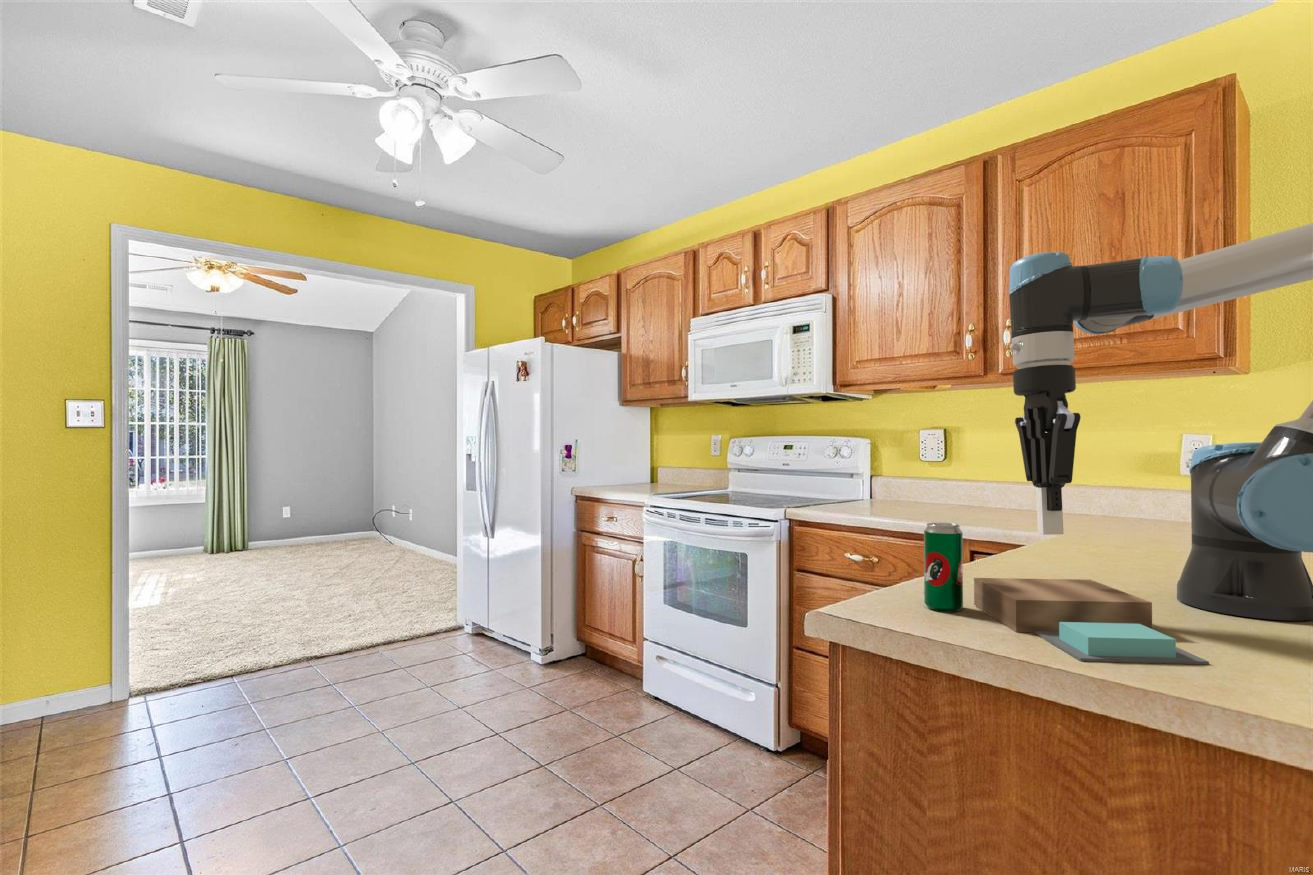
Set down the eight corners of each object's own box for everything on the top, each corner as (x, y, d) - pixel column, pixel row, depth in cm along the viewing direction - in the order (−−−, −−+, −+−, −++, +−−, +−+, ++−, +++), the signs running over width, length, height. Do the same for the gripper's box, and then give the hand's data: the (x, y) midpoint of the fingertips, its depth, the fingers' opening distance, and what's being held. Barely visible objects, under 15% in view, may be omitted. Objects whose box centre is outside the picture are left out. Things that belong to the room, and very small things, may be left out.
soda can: (967, 613, 89) (966, 527, 89) (928, 612, 90) (928, 526, 90) (957, 604, 94) (957, 522, 94) (921, 603, 95) (920, 521, 95)
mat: (1146, 636, 79) (1146, 633, 79) (1208, 664, 69) (1208, 661, 69) (1034, 633, 80) (1034, 631, 80) (1080, 661, 70) (1080, 658, 70)
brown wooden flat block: (1090, 607, 92) (1090, 579, 92) (1152, 635, 79) (1152, 602, 79) (974, 605, 93) (974, 577, 93) (1016, 631, 80) (1015, 599, 80)
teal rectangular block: (1175, 639, 70) (1175, 657, 70) (1139, 623, 76) (1139, 640, 76) (1088, 637, 71) (1088, 655, 71) (1059, 621, 77) (1059, 638, 77)
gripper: (994, 372, 97) (1001, 528, 97) (1039, 361, 84) (1047, 541, 84) (1046, 370, 97) (1053, 527, 96) (1099, 358, 84) (1107, 539, 83)
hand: (1050, 533), depth 90 cm, fingers closed
